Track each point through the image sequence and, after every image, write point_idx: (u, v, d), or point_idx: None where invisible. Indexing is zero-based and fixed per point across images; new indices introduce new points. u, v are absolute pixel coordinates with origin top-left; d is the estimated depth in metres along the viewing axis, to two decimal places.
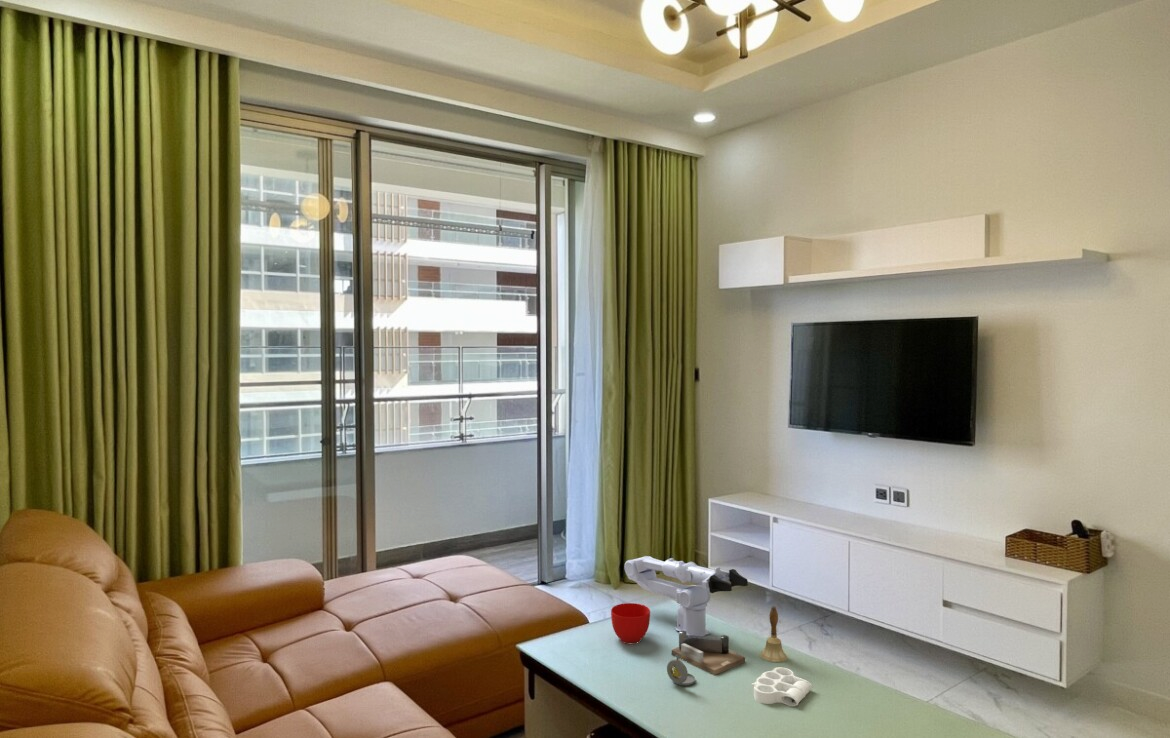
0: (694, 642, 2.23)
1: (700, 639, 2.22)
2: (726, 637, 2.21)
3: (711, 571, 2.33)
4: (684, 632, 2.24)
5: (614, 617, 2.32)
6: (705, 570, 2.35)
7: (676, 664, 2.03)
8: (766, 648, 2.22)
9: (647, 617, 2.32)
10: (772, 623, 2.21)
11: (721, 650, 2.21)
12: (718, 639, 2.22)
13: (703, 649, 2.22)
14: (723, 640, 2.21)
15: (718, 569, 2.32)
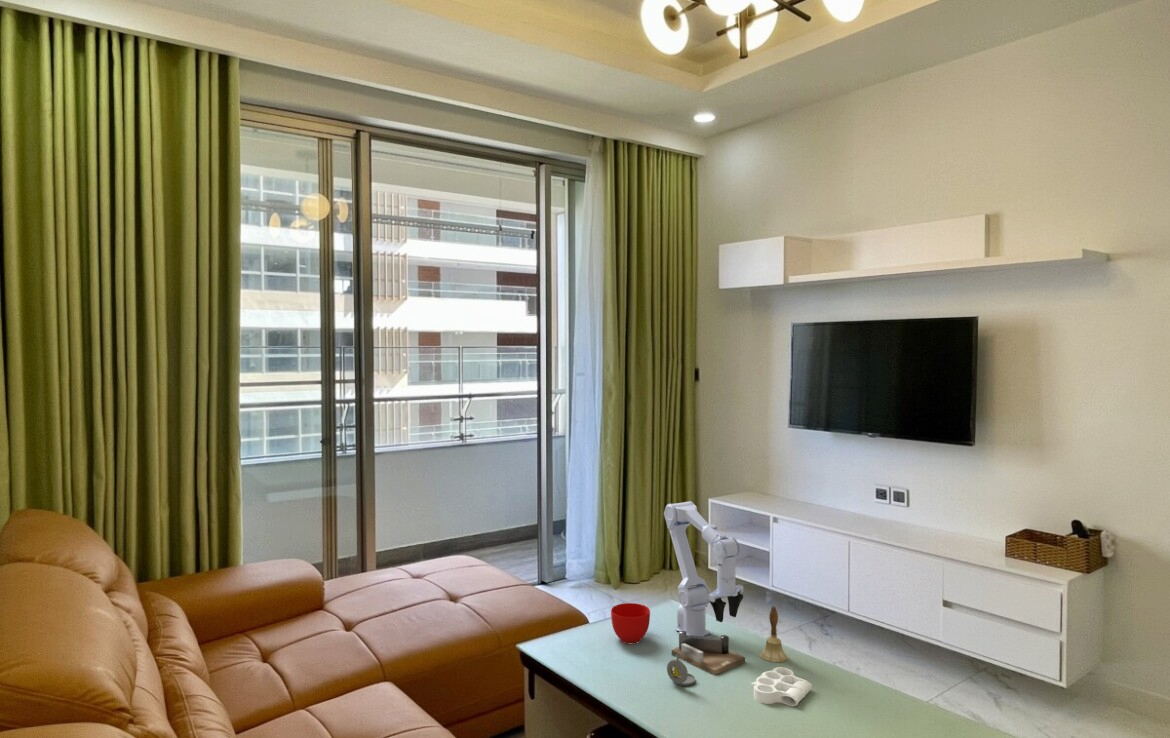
0: (694, 642, 2.23)
1: (700, 639, 2.22)
2: (726, 637, 2.21)
3: (731, 588, 2.23)
4: (684, 632, 2.24)
5: (614, 617, 2.32)
6: (729, 581, 2.23)
7: (676, 664, 2.03)
8: (766, 648, 2.22)
9: (647, 617, 2.32)
10: (772, 623, 2.21)
11: (721, 650, 2.21)
12: (718, 639, 2.22)
13: (703, 649, 2.22)
14: (723, 640, 2.21)
15: None
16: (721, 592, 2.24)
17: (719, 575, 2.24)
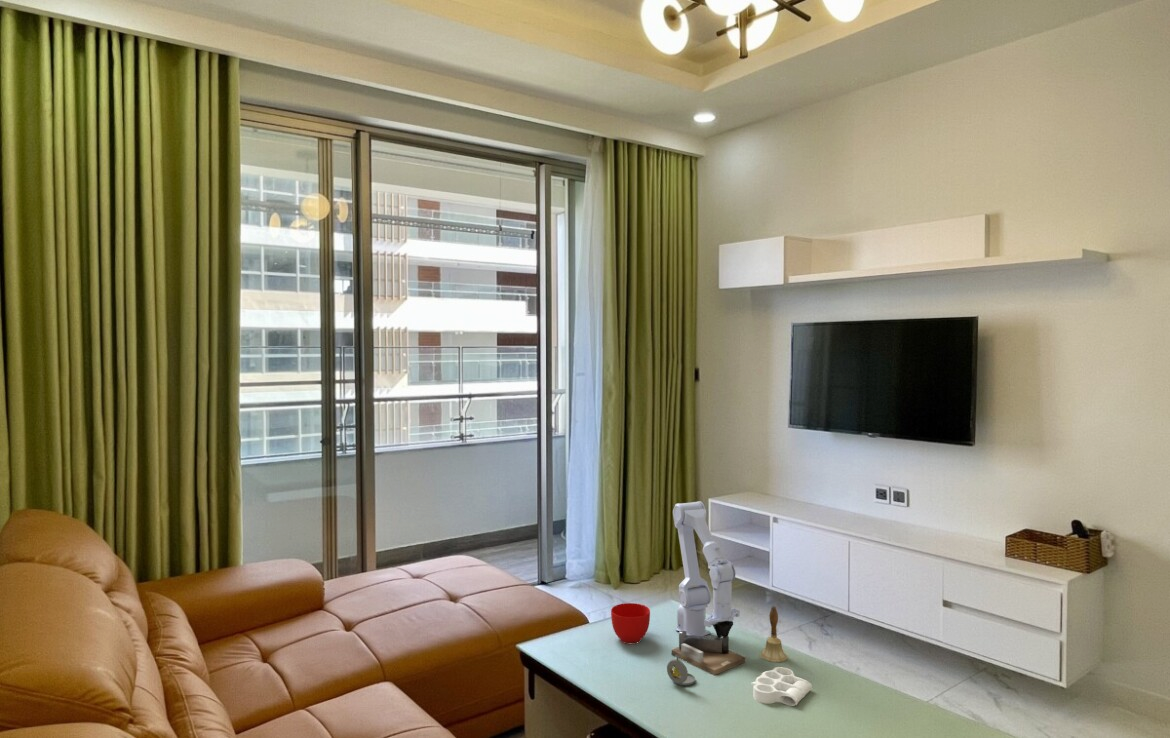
0: (694, 642, 2.23)
1: (700, 639, 2.22)
2: (726, 637, 2.21)
3: (727, 613, 2.22)
4: (684, 632, 2.24)
5: (614, 617, 2.32)
6: (725, 606, 2.22)
7: (676, 664, 2.03)
8: (766, 648, 2.22)
9: (647, 617, 2.32)
10: (772, 623, 2.21)
11: (721, 650, 2.21)
12: (718, 639, 2.22)
13: (703, 649, 2.22)
14: (723, 640, 2.21)
15: None
16: (717, 617, 2.23)
17: (714, 599, 2.24)
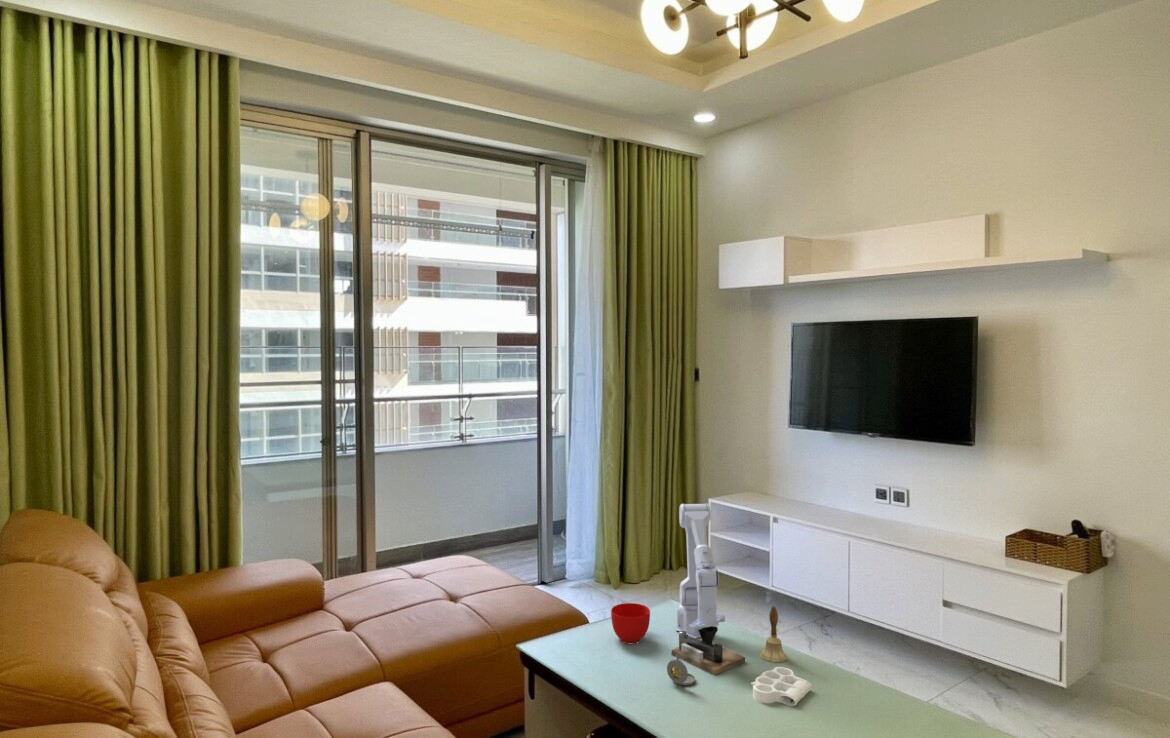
0: (690, 644, 2.21)
1: (696, 642, 2.20)
2: (719, 646, 2.15)
3: (711, 618, 2.18)
4: (683, 632, 2.24)
5: (614, 617, 2.32)
6: (710, 611, 2.18)
7: (676, 664, 2.03)
8: (766, 648, 2.22)
9: (647, 617, 2.32)
10: (772, 623, 2.21)
11: (714, 658, 2.16)
12: (712, 646, 2.17)
13: None
14: (715, 648, 2.15)
15: None
16: (702, 622, 2.19)
17: (698, 603, 2.20)
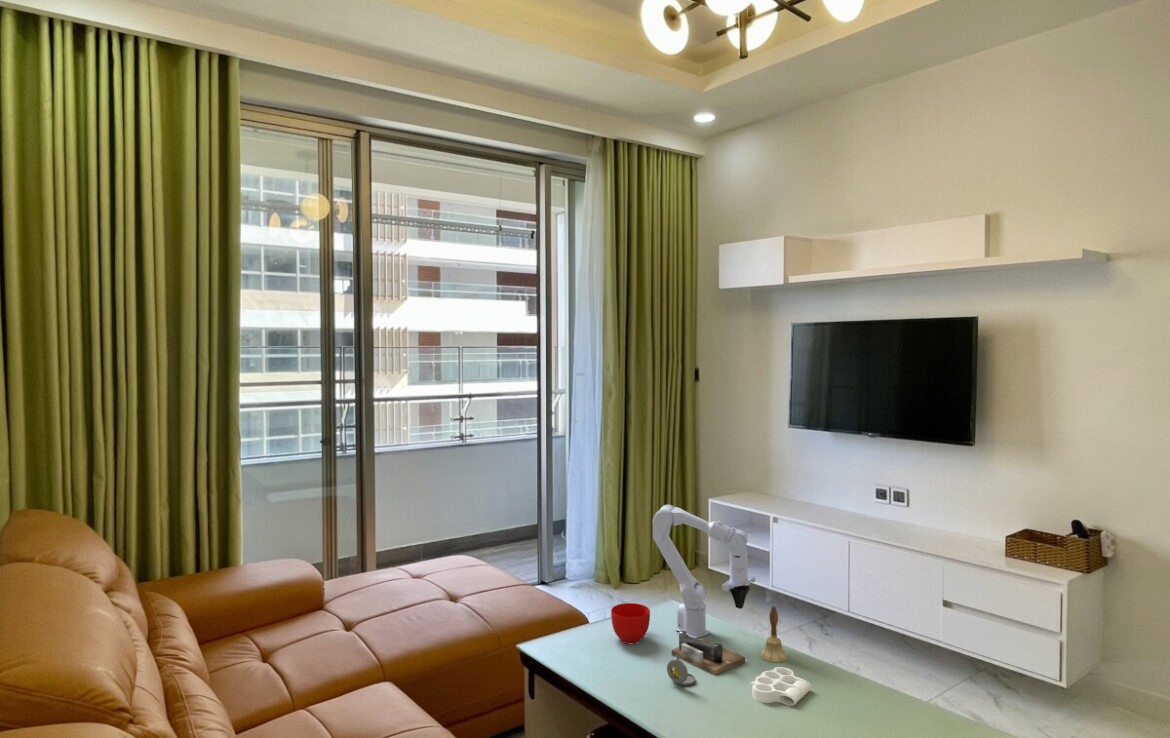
0: (690, 644, 2.21)
1: (696, 642, 2.20)
2: (719, 646, 2.15)
3: (743, 578, 2.33)
4: (683, 632, 2.24)
5: (614, 617, 2.32)
6: (742, 571, 2.33)
7: (676, 664, 2.03)
8: (766, 648, 2.22)
9: (647, 617, 2.32)
10: (772, 623, 2.21)
11: (714, 658, 2.16)
12: (712, 646, 2.17)
13: None
14: (714, 648, 2.15)
15: None
16: (734, 582, 2.33)
17: (737, 567, 2.33)
